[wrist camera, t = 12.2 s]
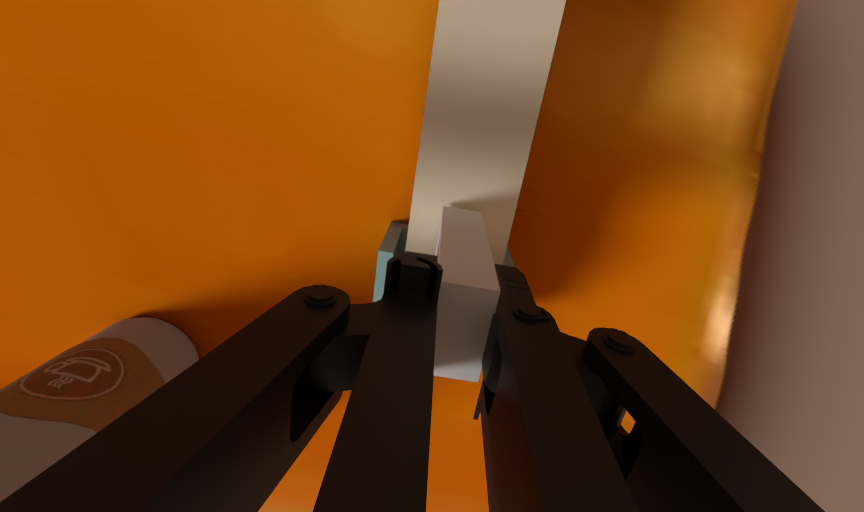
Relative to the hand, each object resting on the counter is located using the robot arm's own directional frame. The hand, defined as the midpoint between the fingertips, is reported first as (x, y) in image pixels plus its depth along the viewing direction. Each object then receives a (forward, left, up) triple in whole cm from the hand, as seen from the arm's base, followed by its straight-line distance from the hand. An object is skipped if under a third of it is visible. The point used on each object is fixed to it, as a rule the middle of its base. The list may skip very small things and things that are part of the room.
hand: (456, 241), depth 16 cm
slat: (-5, 0, -6) cm, 8 cm away
